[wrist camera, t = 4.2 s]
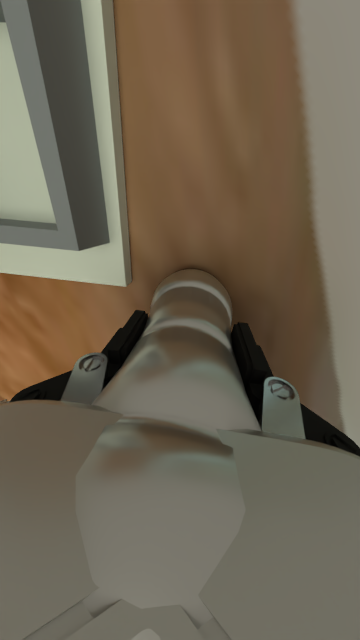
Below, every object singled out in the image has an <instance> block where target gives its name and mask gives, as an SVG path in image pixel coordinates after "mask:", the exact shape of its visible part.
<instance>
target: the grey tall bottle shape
mask: <svg viewBox="0 0 360 640" xmlns="http://www.w3.org/2000/svg"><path fill="white" fill-rule="evenodd" d="M231 322H232V304H231V299H230V296H229V294H228V292H227V291H226V289H225V287H224V286H223V285H222V284H221V283H220V282H219V281H218V280H217V279H216V278H215V277H213V276H212V275H211V274H209V273H207V272H204V271H201V270H197V269H185V270H180V271H178V272H175V273H173V274H171V275H170V276H168V277H167V278H165V279H164V280H163V281H162V282H161V283H160V284H159V285H158V287H157V289H156V290H155V293H154V296H153V299H152V303H151V307H150V314H149V317H148V319H147V322H146V325H145V328H144V330H143V333H142V335H141V336H140V338H139V339H138V341H137V343H136V344H135V346H134V347H133V349H132V351H131V352H130V354H129V355H128V357H127V359H126V360H125V362H124V363H123V365H122V367H121V368H120V369H119V370H118V372H117V373H116V374H115V375H114V377H113V378H112V379H111V380H110V382H109V383H108V384H107V385H106V387H105V388H104V389H103V390H102V392H101V393H100V394H99V396H98V397H97V398H96V399H95V401H94V402H93V403H92V404H91V405H96V406H101V407H103V408H105V409H108V410H110V411H112V412H116V413H120V414H124V415H123V416H122V417H121V418H120V419H119V420H118V421H117V422H116V423H115V424H114V425H106V426H105V427H104V429H103V431H102V433H101V435H100V436H99V438H98V440H97V442H96V444H95V445H94V447H93V449H92V451H91V452H90V454H89V456H88V457H87V459H86V461H85V462H84V464H83V465H82V467H81V468H80V470H79V472H78V473H77V475H76V505H75V511H76V515H77V519H78V523H79V528H80V532H81V536H82V540H83V544H84V548H85V552H86V557H87V561H88V565H89V569H90V573H91V577H92V580H93V582H94V583H95V585H96V586H98V587H100V588H98V589H97V590H96V591H94V592H93V593H92V594H90V595H89V596H88V597H86V598H85V599H84V600H83V603H84V605H85V606H86V608H87V610H88V612H89V613H90V615H91V616H92V617H94V618H96V617H97V616H99V615H100V614H102V613H103V612H104V611H106V610H107V609H109V608H110V607H111V606H113V605H114V604H116V603H117V602H118V601H120V600H121V599H123V600H125V601H127V602H129V603H131V604H133V605H135V606H137V607H139V608H141V609H144V608H151V607H160V606H170V605H180V606H181V607H182V609H183V610H184V612H185V613H186V615H187V616H188V617H189V619H190V620H191V622H192V623H193V624H194V626H195V627H196V629H199V628H200V627H201V626H203V625H204V624H205V623H206V622H208V621H209V620H210V619H212V618H213V616H212V615H211V613H210V612H209V610H208V609H207V607H206V606H205V605H204V603H203V602H202V600H201V599H200V597H199V596H198V594H199V593H200V591H201V590H202V588H203V587H204V585H205V584H206V582H207V580H208V579H209V577H210V576H211V574H212V573H213V571H214V570H215V568H216V566H217V565H218V563H219V562H220V560H221V559H222V557H223V555H224V554H225V552H226V551H227V549H228V548H229V546H230V545H231V543H232V541H233V540H234V538H235V537H236V535H237V534H238V532H239V529H240V526H241V523H242V520H243V517H244V514H245V510H246V509H245V504H244V500H243V496H242V491H241V487H240V483H239V478H238V473H237V468H236V463H235V457H234V452H233V448H232V447H230V446H228V445H225V444H222V442H221V439H220V437H219V435H218V432H217V430H216V429H221V430H236V429H251V430H257V431H261V428H260V426H259V423H258V421H257V418H256V416H255V414H254V411H253V409H252V406H251V404H250V401H249V399H248V397H247V394H246V391H245V387H244V384H243V381H242V377H241V374H240V371H239V367H238V365H237V362H236V357H235V354H234V351H233V346H232V335H231ZM131 640H161V639H160V637H159V636H158V635H157V634H156V633H155V632H154V631H153V630H152V629H145V630H143V631H141V632H140V633H138V634H137V635H136V636H135V637H134V638H132V639H131Z"/></svg>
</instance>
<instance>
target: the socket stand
mask: <svg viewBox="0 0 360 640" xmlns="http://www.w3.org/2000/svg"><path fill="white" fill-rule="evenodd" d="M0 273H9V274H18V275H26V276H35V277H44V278H53V279H62V280H71V281H80V282H89V283H98V284H106V285H115V286H124V287H126V286H127V285H128V284H130V283H131V282H132V276H131V261H130V246H129V231H128V217H127V202H126V187H125V173H124V158H123V143H122V129H121V114H120V99H119V85H118V70H117V55H116V40H115V26H114V11H113V0H0Z"/></svg>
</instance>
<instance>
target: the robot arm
mask: <svg viewBox="0 0 360 640" xmlns="http://www.w3.org/2000/svg"><path fill="white" fill-rule="evenodd" d="M147 319H148V314H146V313H145V311H140V310H136V311H135V312H134V313H133V315H132V316H131V317H130V319H129V320H128V322H127V323H126V324H125V326H124V327H123V328H120V329H118V331H117V332H116V333H115V335H114V336H113V337H112V339H111V340H110V341H109V343H108V344H107V345H106V347H105V348H104V349H103V351H102V352H101V353H90V354H87V355H84V356H83V357H81V358H80V359H79V360H77V362H76V363H75V366H74V368H73V370H72V371H69V372H67V373H64V374H61V375H59V376H56V377H53V378H51V379H48V380H46V381H43V382H40V383H38V384H35V385H33V386H30V387H28V388H26V389H23V390H22V391H20V392H19V393H17V394H16V395H15V396H14V397H13V398H12V399H11V401H7V399H5V400H3V401H0V640H131V639H132V638H134V637H135V636H136V635H137V634H138V633H140V632H141V631H143V630H145V629H152V630H153V631H154V632H155V633H156V634H157V635H158V636H159V637H160V639H161V640H360V448H359V447H358V446H357V445H356V444H355V442H354V441H352V440H351V439H350V438H349V437H348V436H346V435H345V434H344V433H342V432H341V431H339V430H338V429H337V428H335V427H334V426H332V425H331V424H329V423H328V422H327V421H325V420H324V419H322V418H321V417H319V416H318V415H317V414H315V413H314V412H312V411H311V410H309V409H308V408H307V407H305V406H304V405H302V404H301V403H300V400H299V395H298V392H297V390H296V389H295V388H294V387H293V386H292V385H291V384H290V383H289V382H287V381H286V380H283V379H281V378H278V377H274V376H273V374H272V372H271V369H270V367H269V365H268V363H267V360H266V358H265V356H264V354H263V351H262V349H261V347H260V346H259V345H256V342H255V340H254V338H253V335H252V333H251V330H250V328H249V326H248V324H247V323H239V322H238V323H237V324H234V326H233V330H232V333H231V335H232V346H233V351H234V354H235V357H236V362H237V365H238V367H239V371H240V374H241V377H242V381H243V384H244V387H245V391H246V394H247V397H248V399H249V401H250V404H251V406H252V409H253V411H254V414H255V416H256V418H257V421H258V423H259V426H260V428H261V431H257V430H251V429H236V430H221V429H216V430H217V432H218V435H219V437H220V439H221V442H222V444H225V445H228V446H230V447H232V448H233V452H234V457H235V463H236V468H237V473H238V478H239V483H240V487H241V491H242V496H243V500H244V504H245V509H246V510H245V514H244V517H243V520H242V523H241V526H240V529H239V532H238V534H237V535H236V537H235V538H234V540H233V541H232V543H231V545H230V546H229V548H228V549H227V551H226V552H225V554H224V555H223V557H222V559H221V560H220V562H219V563H218V565H217V566H216V568H215V570H214V571H213V573H212V574H211V576H210V577H209V579H208V580H207V582H206V584H205V585H204V587H203V588H202V590H201V591H200V593H199V594H198V596H199V597H200V599H201V600H202V602H203V603H204V605H205V606H206V607H207V609H208V610H209V612H210V613H211V615H212V616H213V618H212V619H210V620H209V621H208V622H206V623H205V624H204V625H203V626H201V627H200V628H199V629H196V627H195V626H194V624H193V623H192V622H191V620H190V619H189V617H188V616H187V615H186V613H185V612H184V610H183V609H182V607H181V606H180V605H170V606H160V607H151V608H144V609H141V608H139V607H137V606H135V605H133V604H131V603H129V602H127V601H125V600H123V599H121V600H120V601H118V602H117V603H116V604H114V605H113V606H111V607H110V608H109V609H107V610H106V611H104V612H103V613H102V614H100V615H99V616H97V617H96V618H94V617H92V616H91V615H90V613H89V612H88V610H87V608H86V606H85V605H84V603H83V600H84V599H85V598H86V597H88V596H89V595H90V594H92V593H93V592H94V591H96V590H97V589H98V588H100V587H98V586H96V585H95V583H94V582H93V580H92V577H91V573H90V569H89V565H88V561H87V557H86V552H85V548H84V544H83V540H82V536H81V532H80V528H79V523H78V519H77V515H76V511H75V505H76V475H77V473H78V472H79V470H80V468H81V467H82V465H83V464H84V462H85V461H86V459H87V457H88V456H89V454H90V452H91V451H92V449H93V447H94V445H95V444H96V442H97V440H98V438H99V436H100V435H101V433H102V431H103V429H104V427H105V426H106V425H114V424H115V423H116V422H117V421H118V420H119V419H120V418H121V417H122V416H123V415H124V414H120V413H116V412H112V411H110V410H108V409H105V408H103V407H101V406H96V405H91V404H92V403H93V402H94V401H95V399H96V398H97V397H98V396H99V394H100V393H101V392H102V390H103V389H104V388H105V387H106V385H107V384H108V383H109V382H110V380H111V379H112V378H113V377H114V375H115V374H116V373H117V372H118V370H119V369H120V368H121V367H122V365H123V363H124V362H125V360H126V359H127V357H128V355H129V354H130V352H131V351H132V349H133V347H134V346H135V344H136V343H137V341H138V339H139V338H140V336H141V335H142V333H143V330H144V328H145V325H146V322H147Z"/></svg>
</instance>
